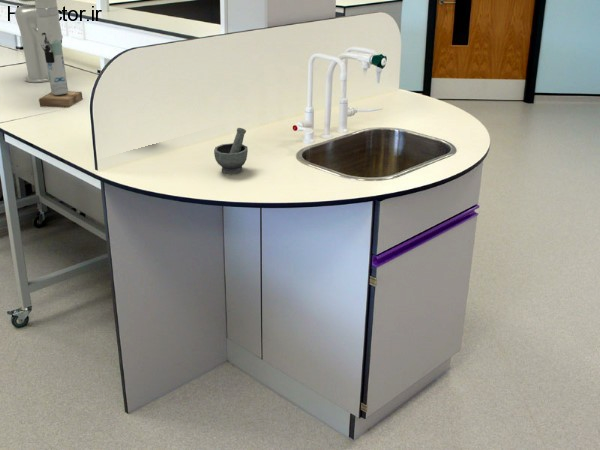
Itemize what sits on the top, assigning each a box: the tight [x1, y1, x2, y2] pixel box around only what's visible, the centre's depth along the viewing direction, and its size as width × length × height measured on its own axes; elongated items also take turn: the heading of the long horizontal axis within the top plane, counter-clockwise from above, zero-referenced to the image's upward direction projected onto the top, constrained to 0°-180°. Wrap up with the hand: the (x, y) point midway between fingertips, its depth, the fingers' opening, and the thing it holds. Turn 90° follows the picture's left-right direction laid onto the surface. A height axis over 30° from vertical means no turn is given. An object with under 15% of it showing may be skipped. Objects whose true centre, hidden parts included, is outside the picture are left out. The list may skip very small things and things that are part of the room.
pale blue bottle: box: [46, 40, 69, 95], centre depth 273 cm, size 6×6×20 cm
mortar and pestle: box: [213, 127, 249, 176], centre depth 207 cm, size 11×9×12 cm
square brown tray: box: [38, 90, 84, 108], centre depth 278 cm, size 12×12×3 cm
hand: (54, 60), depth 272 cm, fingers closed on pale blue bottle, 6 cm apart
